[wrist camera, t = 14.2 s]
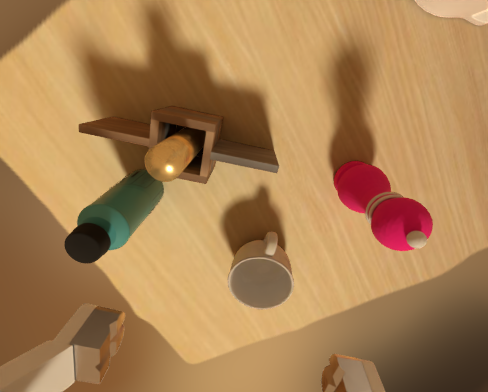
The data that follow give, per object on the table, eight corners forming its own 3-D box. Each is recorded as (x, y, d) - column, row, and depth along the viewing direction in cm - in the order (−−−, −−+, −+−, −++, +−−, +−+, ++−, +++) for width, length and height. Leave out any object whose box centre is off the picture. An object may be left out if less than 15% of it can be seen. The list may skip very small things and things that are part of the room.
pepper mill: (350, 149, 43) (422, 196, 25) (384, 172, 44) (477, 235, 26) (321, 184, 46) (367, 252, 27) (354, 206, 47) (420, 285, 28)
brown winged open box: (113, 93, 41) (77, 95, 33) (279, 129, 42) (285, 139, 34) (112, 144, 44) (79, 158, 36) (267, 176, 45) (270, 197, 37)
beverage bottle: (149, 158, 45) (75, 208, 26) (176, 188, 47) (125, 255, 28) (122, 180, 46) (35, 242, 28) (149, 208, 48) (84, 284, 30)
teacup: (273, 286, 54) (276, 318, 47) (222, 268, 53) (217, 297, 45) (306, 231, 49) (315, 257, 42) (251, 209, 48) (251, 231, 40)
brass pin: (196, 119, 42) (165, 137, 27) (211, 140, 43) (189, 169, 29) (176, 133, 43) (136, 158, 28) (192, 154, 44) (161, 188, 30)
